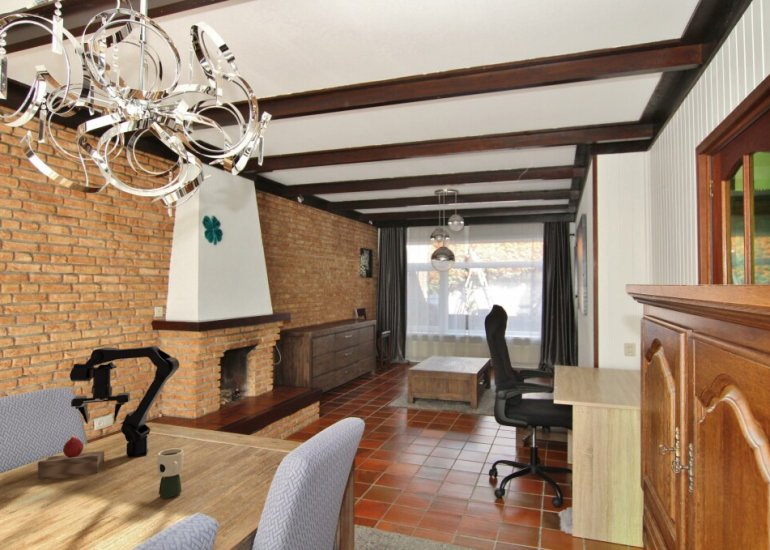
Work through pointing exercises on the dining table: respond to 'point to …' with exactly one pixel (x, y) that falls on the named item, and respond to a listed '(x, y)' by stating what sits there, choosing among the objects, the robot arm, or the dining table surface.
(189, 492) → the dining table surface
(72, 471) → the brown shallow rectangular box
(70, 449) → the onion
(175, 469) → the character mug
